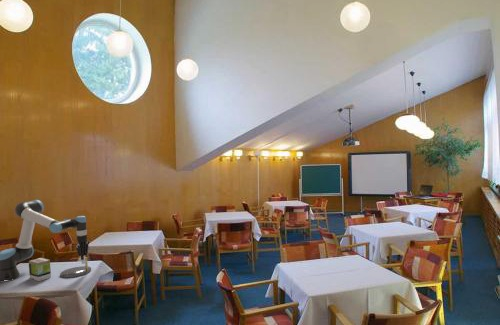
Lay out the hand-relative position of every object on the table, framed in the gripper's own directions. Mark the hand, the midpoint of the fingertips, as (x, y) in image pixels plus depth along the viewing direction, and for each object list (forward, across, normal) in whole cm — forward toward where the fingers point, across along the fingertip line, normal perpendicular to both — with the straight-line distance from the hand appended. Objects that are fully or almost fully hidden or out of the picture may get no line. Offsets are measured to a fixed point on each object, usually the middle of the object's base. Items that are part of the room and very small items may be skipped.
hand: (83, 263), depth 268 cm
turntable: (+10, +3, +11) cm, 15 cm away
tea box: (+10, -11, +33) cm, 36 cm away
